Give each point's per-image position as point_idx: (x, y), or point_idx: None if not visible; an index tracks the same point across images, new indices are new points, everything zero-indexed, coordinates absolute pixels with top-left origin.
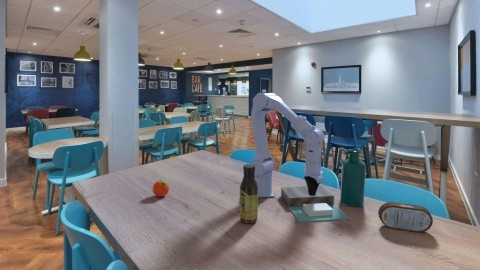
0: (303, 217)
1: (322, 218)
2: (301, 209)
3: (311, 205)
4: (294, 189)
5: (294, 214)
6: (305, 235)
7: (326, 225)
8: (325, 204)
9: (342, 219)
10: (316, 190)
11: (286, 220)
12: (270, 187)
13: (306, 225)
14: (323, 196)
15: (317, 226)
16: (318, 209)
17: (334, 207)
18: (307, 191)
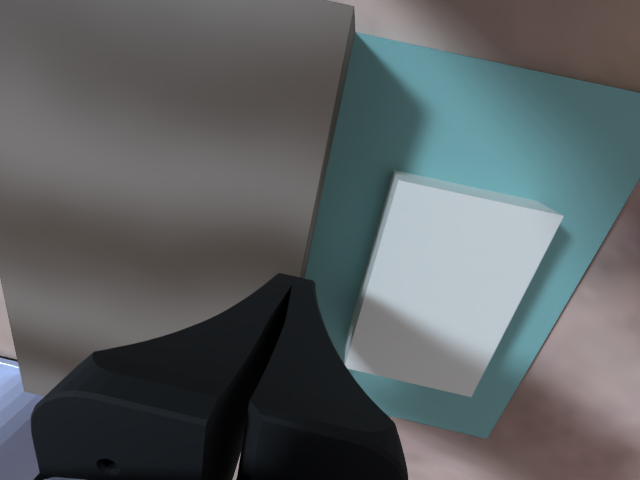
0: (455, 398)
1: (537, 310)
2: (344, 348)
3: (390, 328)
4: (77, 327)
5: (392, 415)
6: (620, 476)
7: (614, 330)
8: (427, 207)
9: (637, 169)
10: (319, 312)
11: (427, 466)
12: (22, 445)
13: (536, 421)
14: (321, 167)
15: (586, 381)
16: (485, 325)
17: (418, 76)
18: (141, 245)
